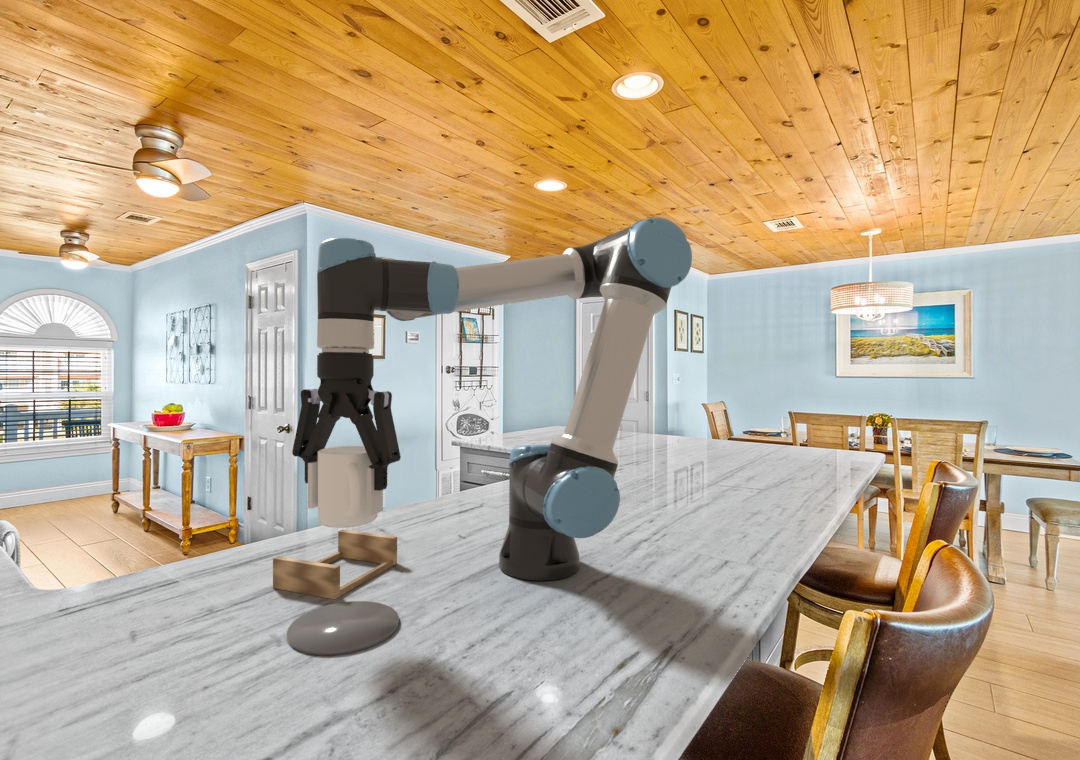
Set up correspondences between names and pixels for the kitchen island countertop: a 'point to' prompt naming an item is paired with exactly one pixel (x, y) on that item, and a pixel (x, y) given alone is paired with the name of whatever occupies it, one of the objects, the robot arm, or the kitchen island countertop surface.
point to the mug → (343, 486)
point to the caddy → (326, 576)
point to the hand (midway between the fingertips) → (345, 509)
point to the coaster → (342, 628)
